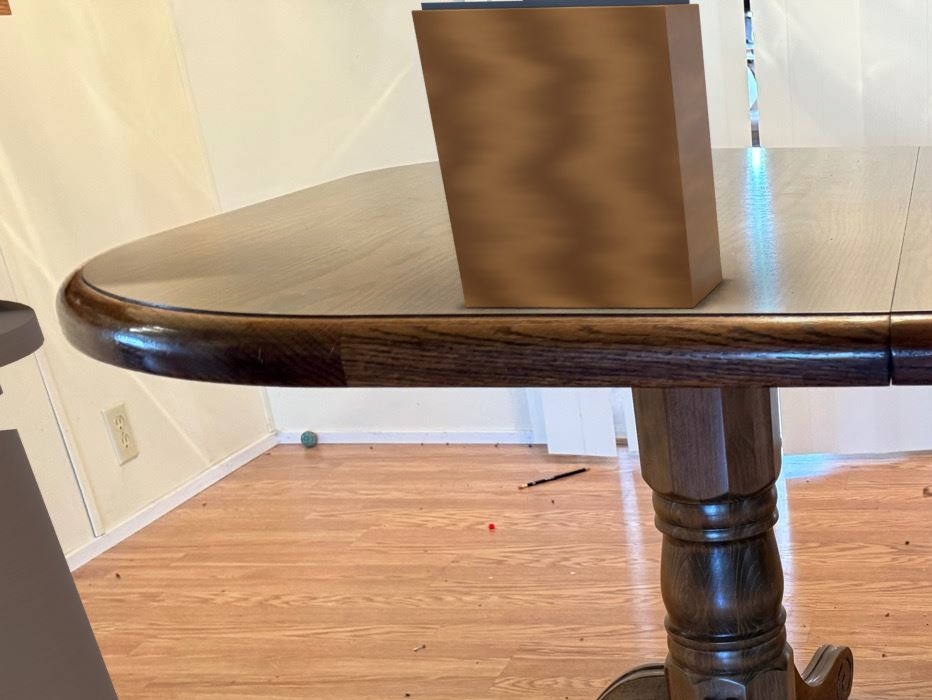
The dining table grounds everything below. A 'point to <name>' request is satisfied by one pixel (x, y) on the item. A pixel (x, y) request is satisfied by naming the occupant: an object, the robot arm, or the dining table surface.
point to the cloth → (544, 4)
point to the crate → (574, 154)
